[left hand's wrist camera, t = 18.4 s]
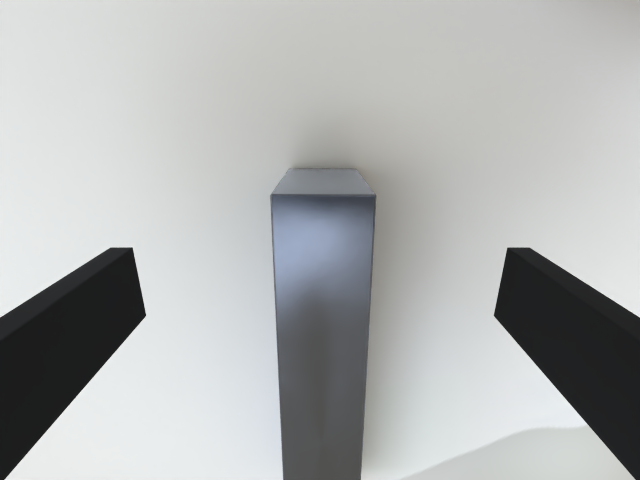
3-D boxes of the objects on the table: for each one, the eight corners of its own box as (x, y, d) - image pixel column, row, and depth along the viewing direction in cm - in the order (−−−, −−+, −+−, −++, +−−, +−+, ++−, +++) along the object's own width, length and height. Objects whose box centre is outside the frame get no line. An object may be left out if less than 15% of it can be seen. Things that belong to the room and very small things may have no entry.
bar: (288, 168, 22) (269, 194, 14) (356, 168, 22) (376, 194, 14) (297, 472, 31) (288, 595, 23) (345, 472, 31) (354, 596, 23)
